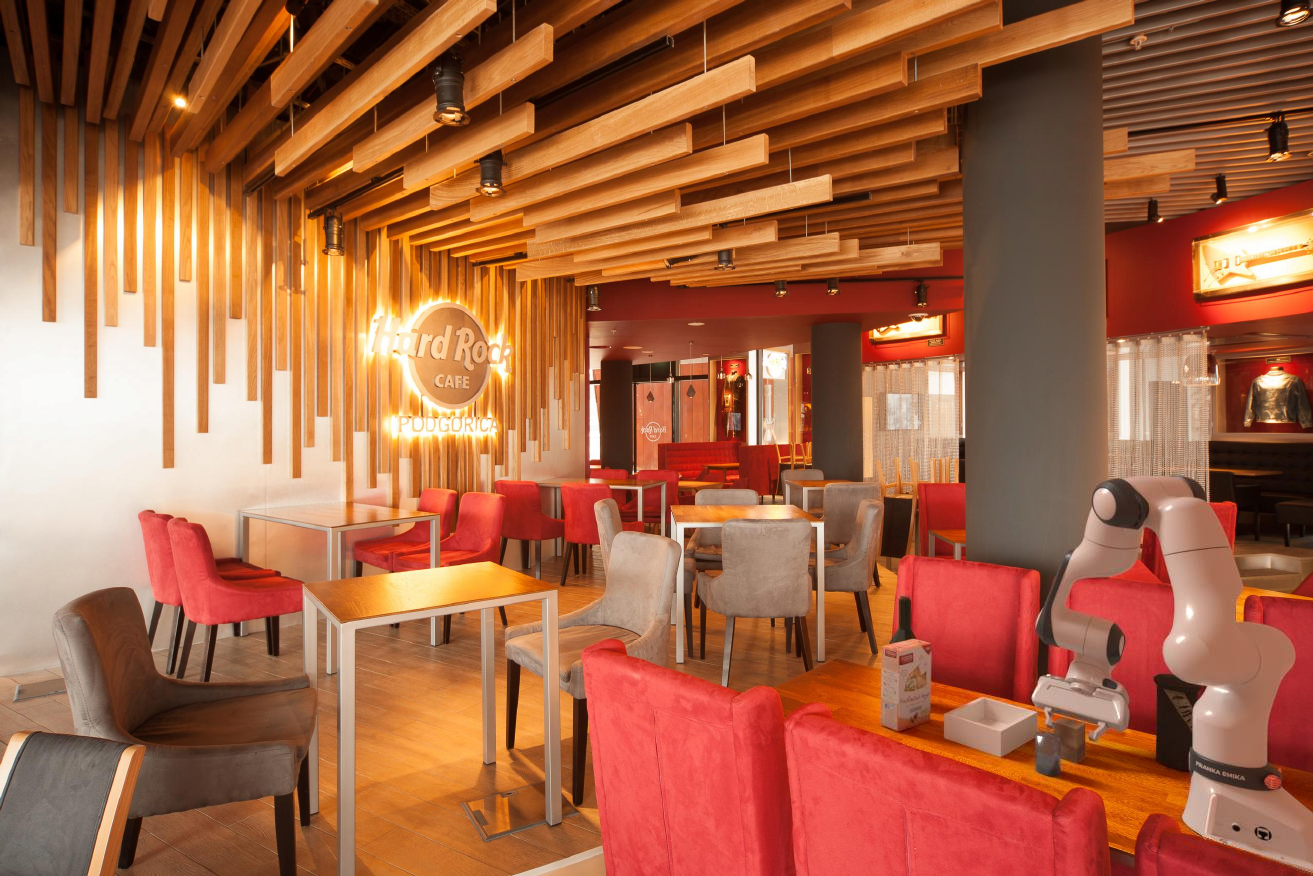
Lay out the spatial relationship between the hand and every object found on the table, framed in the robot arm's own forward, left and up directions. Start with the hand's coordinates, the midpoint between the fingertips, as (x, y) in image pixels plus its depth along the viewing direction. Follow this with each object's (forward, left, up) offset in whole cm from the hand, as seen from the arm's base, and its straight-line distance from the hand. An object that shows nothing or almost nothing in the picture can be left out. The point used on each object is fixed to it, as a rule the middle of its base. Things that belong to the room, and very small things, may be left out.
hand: (1070, 733), depth 166 cm
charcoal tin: (0, +13, -5) cm, 14 cm away
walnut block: (0, +1, -5) cm, 5 cm away
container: (-17, -15, -6) cm, 24 cm away
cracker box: (+35, +13, -6) cm, 38 cm away
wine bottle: (+44, -1, -6) cm, 44 cm away
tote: (+17, +4, -5) cm, 18 cm away
